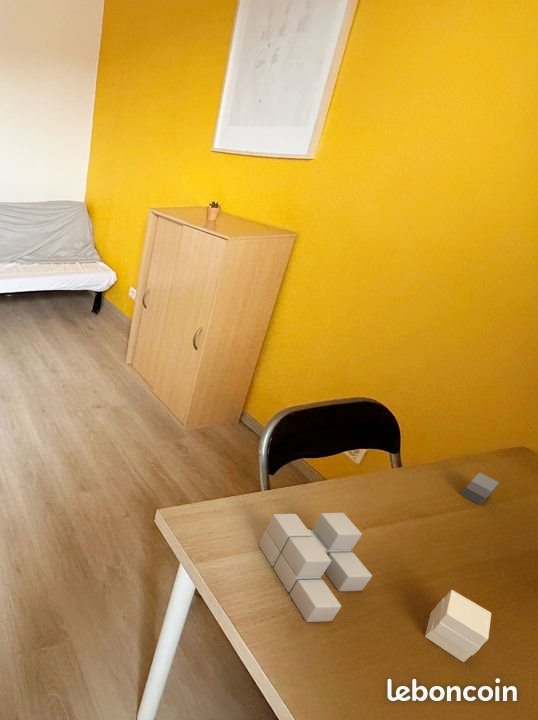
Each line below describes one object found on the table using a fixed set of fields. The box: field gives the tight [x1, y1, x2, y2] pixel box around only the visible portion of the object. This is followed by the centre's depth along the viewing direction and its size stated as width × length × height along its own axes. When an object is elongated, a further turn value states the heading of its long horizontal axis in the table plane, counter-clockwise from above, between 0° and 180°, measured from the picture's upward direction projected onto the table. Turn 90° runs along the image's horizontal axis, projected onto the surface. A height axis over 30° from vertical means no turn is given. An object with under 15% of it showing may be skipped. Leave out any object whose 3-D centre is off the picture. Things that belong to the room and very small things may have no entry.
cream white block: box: [439, 589, 492, 647], centre depth 57 cm, size 5×4×2 cm
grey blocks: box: [460, 472, 500, 506], centre depth 80 cm, size 5×3×4 cm, turn 116°
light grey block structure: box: [258, 512, 373, 623], centre depth 64 cm, size 12×12×8 cm
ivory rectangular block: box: [424, 597, 482, 663], centre depth 58 cm, size 5×4×4 cm
